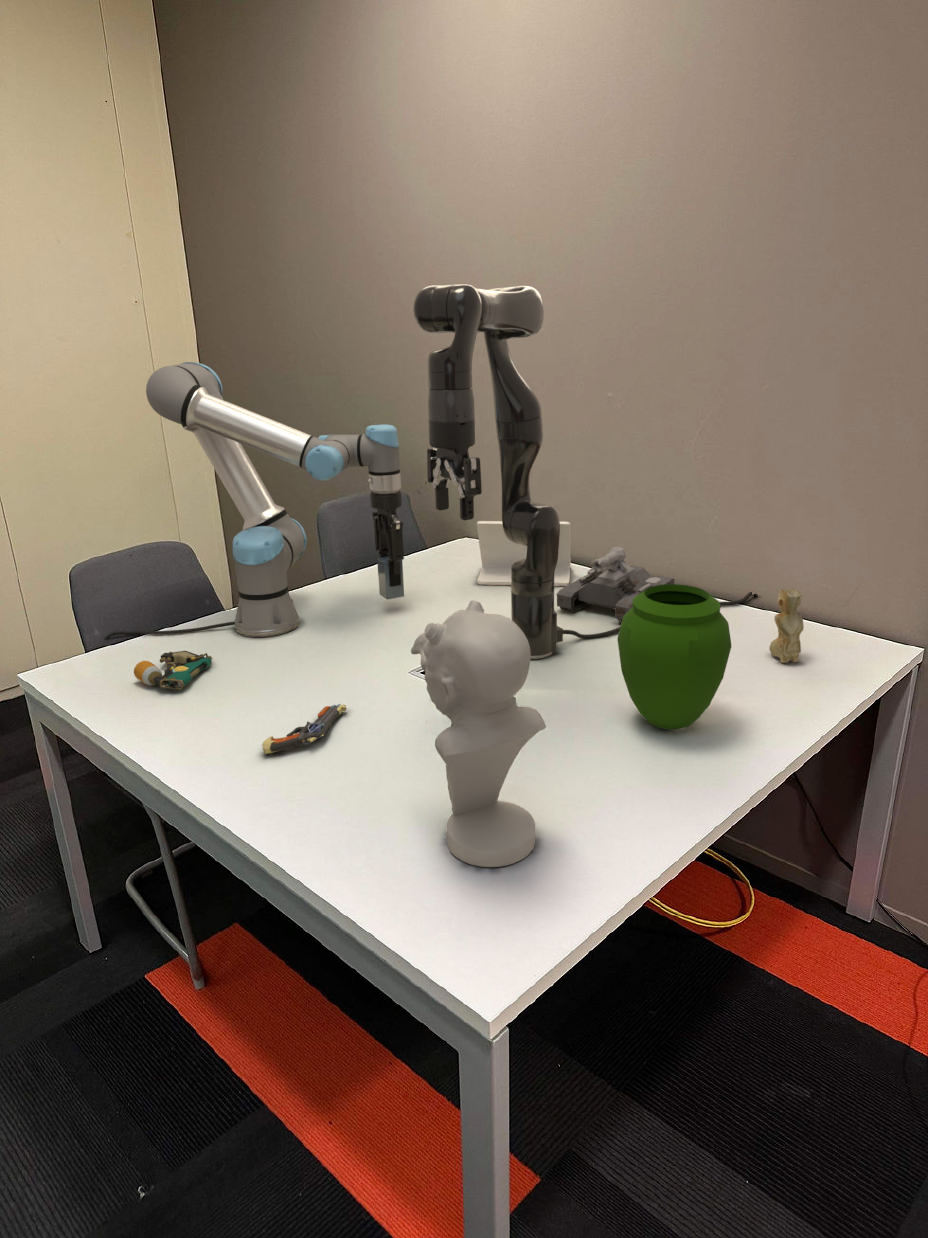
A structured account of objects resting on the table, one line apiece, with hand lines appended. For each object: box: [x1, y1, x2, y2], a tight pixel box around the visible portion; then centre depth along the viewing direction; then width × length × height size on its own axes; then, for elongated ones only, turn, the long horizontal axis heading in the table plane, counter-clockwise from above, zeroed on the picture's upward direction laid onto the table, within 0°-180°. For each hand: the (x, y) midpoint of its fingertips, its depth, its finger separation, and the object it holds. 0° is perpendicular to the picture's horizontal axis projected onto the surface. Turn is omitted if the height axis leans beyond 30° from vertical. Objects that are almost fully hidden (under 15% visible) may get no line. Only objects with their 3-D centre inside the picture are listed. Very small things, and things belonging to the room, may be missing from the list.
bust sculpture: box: [410, 599, 547, 868], centre depth 121 cm, size 16×24×35 cm
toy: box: [556, 546, 676, 622], centre depth 212 cm, size 25×20×15 cm
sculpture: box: [768, 587, 805, 664], centre depth 178 cm, size 6×7×15 cm
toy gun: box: [262, 703, 348, 755], centre depth 155 cm, size 3×19×10 cm
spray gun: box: [133, 650, 213, 690], centre depth 180 cm, size 4×17×15 cm
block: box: [376, 556, 405, 600], centre depth 213 cm, size 5×5×10 cm
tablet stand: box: [476, 520, 572, 587], centre depth 236 cm, size 18×25×17 cm
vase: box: [616, 583, 732, 731], centre depth 151 cm, size 20×20×24 cm
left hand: (391, 582), depth 214 cm, fingers closed on block, 5 cm apart
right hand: (454, 514), depth 144 cm, fingers open, 8 cm apart
